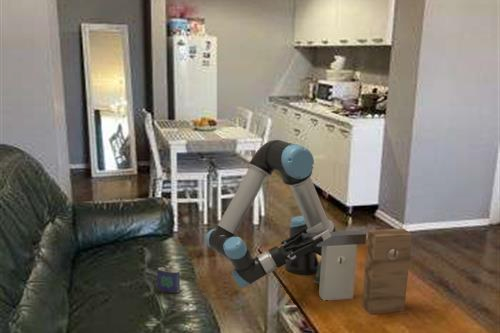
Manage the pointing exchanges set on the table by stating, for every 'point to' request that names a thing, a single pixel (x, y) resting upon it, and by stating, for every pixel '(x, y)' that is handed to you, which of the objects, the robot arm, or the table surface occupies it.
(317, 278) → the canned tomato
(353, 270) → the cream rectangular box
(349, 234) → the grey square bar
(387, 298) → the tall cabinet
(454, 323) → the table surface
